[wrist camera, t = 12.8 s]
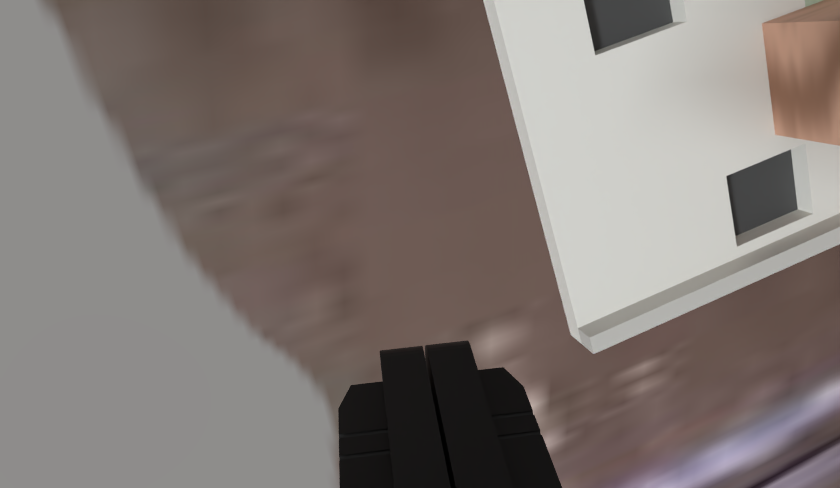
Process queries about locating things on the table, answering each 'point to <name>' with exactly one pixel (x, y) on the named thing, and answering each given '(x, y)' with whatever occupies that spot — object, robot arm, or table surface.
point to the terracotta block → (805, 72)
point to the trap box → (658, 154)
